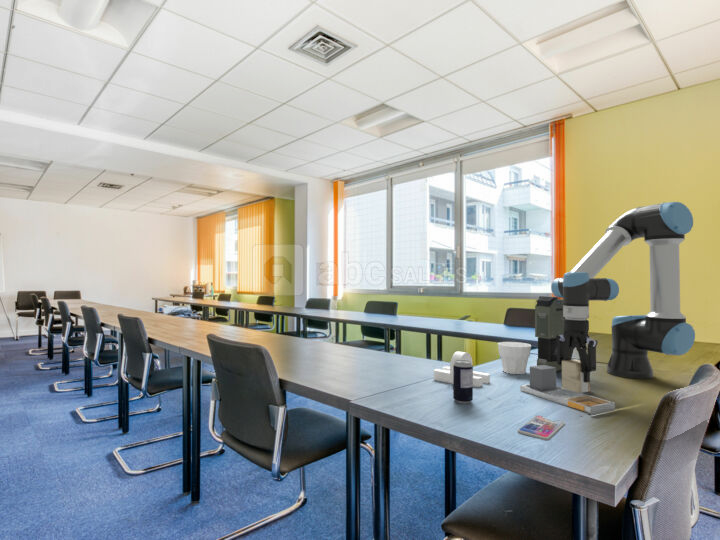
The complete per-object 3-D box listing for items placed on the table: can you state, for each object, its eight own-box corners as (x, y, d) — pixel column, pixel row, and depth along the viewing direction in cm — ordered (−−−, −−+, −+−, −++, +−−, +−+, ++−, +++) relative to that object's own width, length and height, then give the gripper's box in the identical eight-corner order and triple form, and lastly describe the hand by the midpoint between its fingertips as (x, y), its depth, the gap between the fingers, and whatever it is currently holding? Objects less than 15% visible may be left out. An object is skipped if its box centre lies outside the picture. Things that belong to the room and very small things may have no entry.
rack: (543, 388, 137) (543, 382, 137) (614, 410, 115) (614, 402, 115) (519, 392, 132) (519, 385, 132) (589, 415, 110) (589, 407, 110)
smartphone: (566, 421, 104) (548, 438, 93) (566, 425, 104) (548, 442, 93) (536, 414, 109) (515, 429, 98) (536, 418, 109) (515, 433, 98)
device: (550, 375, 155) (550, 297, 156) (532, 371, 162) (532, 296, 162) (570, 370, 163) (570, 296, 164) (552, 367, 170) (552, 295, 170)
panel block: (576, 388, 137) (576, 359, 137) (590, 392, 132) (589, 362, 132) (561, 391, 134) (561, 360, 134) (575, 395, 129) (575, 363, 129)
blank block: (544, 389, 134) (544, 364, 134) (556, 392, 130) (556, 367, 130) (529, 391, 131) (529, 366, 131) (541, 395, 127) (541, 369, 127)
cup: (492, 368, 166) (492, 341, 166) (521, 368, 167) (521, 341, 168) (506, 376, 154) (506, 347, 154) (537, 375, 155) (537, 346, 155)
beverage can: (473, 399, 124) (473, 360, 124) (472, 405, 118) (472, 364, 118) (454, 397, 125) (454, 359, 126) (452, 403, 120) (452, 362, 120)
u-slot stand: (446, 375, 155) (446, 347, 155) (491, 384, 143) (491, 353, 143) (432, 380, 148) (432, 350, 148) (478, 389, 136) (478, 357, 136)
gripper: (544, 316, 140) (544, 384, 140) (594, 322, 124) (594, 398, 123) (559, 315, 143) (559, 381, 143) (610, 321, 127) (610, 395, 127)
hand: (575, 389), depth 133 cm, fingers closed on panel block, 5 cm apart
